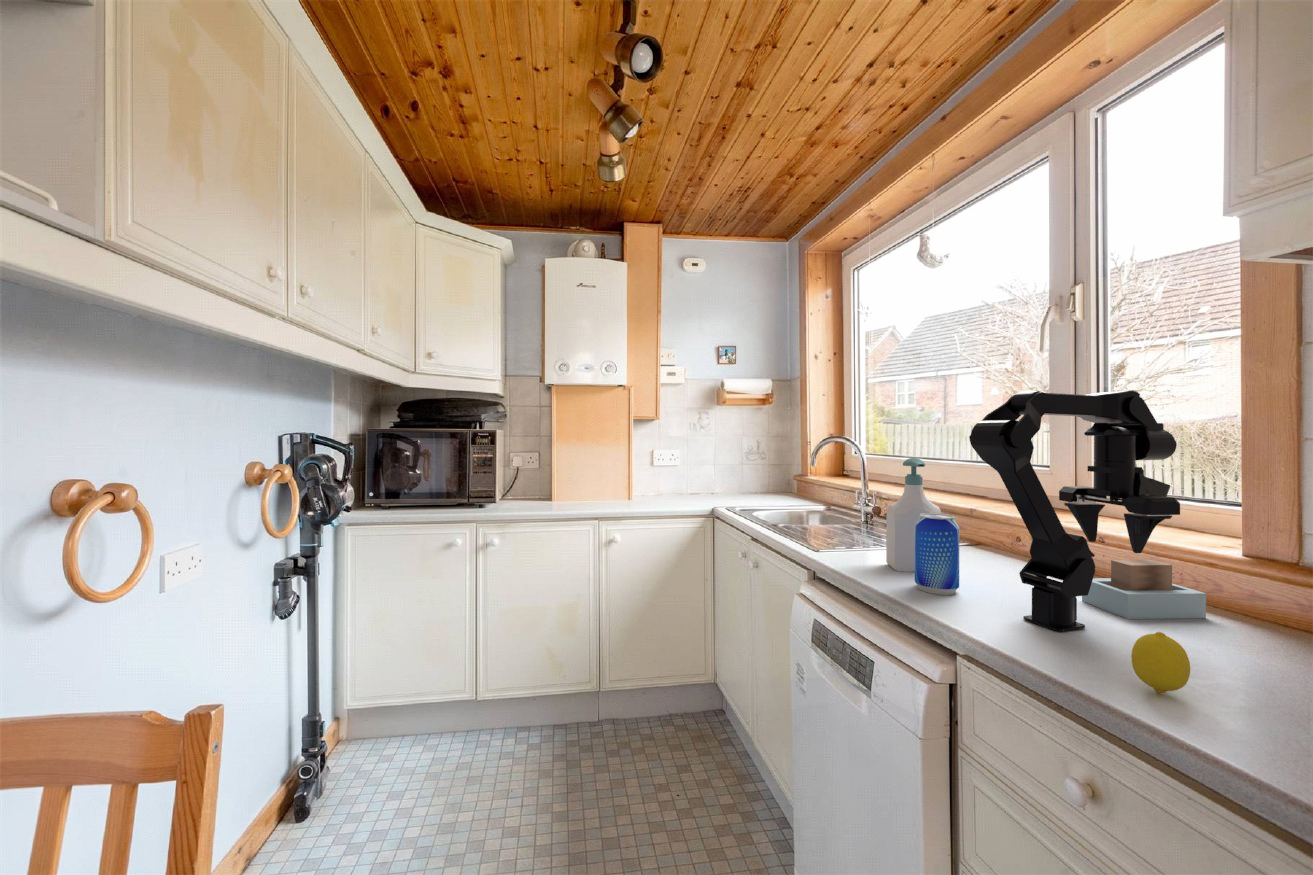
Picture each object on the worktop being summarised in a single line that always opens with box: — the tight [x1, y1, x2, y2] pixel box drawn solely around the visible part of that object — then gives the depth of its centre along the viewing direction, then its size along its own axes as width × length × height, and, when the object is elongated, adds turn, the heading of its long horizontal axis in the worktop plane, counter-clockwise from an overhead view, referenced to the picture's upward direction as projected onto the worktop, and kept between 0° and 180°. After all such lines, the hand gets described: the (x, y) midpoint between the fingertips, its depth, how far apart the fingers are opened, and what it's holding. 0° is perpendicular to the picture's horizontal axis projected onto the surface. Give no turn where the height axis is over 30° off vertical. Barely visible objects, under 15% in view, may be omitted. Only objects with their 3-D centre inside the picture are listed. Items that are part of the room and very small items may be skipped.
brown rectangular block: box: [1110, 559, 1173, 591], centre depth 100 cm, size 8×4×9 cm, turn 91°
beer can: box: [914, 513, 960, 596], centre depth 112 cm, size 8×8×16 cm
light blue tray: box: [1081, 577, 1207, 620], centre depth 100 cm, size 14×10×4 cm
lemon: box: [1130, 631, 1191, 694], centre depth 68 cm, size 6×6×8 cm
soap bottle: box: [885, 457, 942, 573], centre depth 129 cm, size 11×8×27 cm
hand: (1113, 547), depth 95 cm, fingers open, 9 cm apart
